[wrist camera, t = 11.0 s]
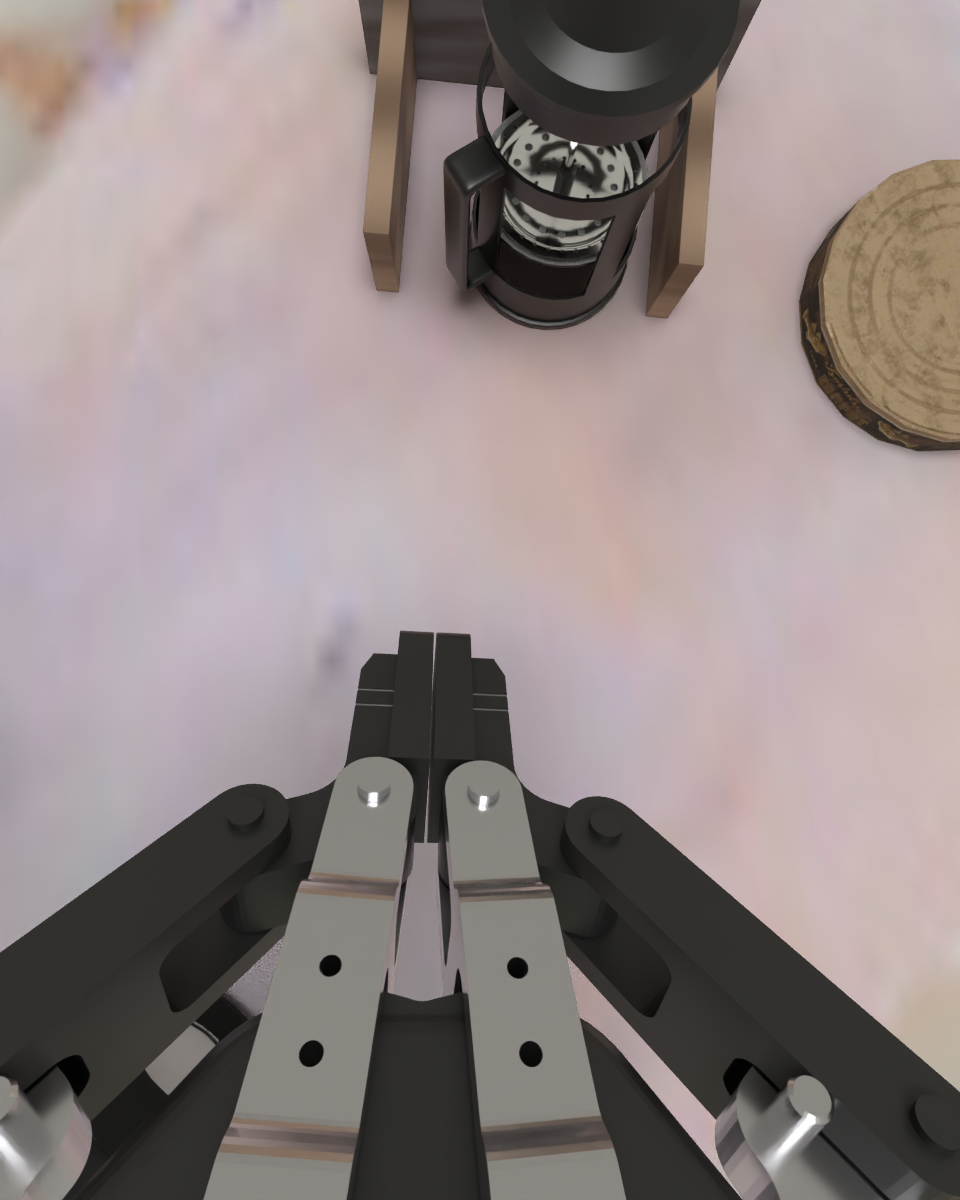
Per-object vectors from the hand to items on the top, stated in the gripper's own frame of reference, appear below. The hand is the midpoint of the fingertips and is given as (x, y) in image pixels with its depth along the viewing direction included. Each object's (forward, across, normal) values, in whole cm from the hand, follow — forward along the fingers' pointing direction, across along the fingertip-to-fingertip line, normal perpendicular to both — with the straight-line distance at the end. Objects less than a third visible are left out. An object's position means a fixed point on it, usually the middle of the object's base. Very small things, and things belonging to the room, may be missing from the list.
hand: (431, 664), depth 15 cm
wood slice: (+31, -29, -2) cm, 43 cm away
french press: (+33, -5, -3) cm, 34 cm away
